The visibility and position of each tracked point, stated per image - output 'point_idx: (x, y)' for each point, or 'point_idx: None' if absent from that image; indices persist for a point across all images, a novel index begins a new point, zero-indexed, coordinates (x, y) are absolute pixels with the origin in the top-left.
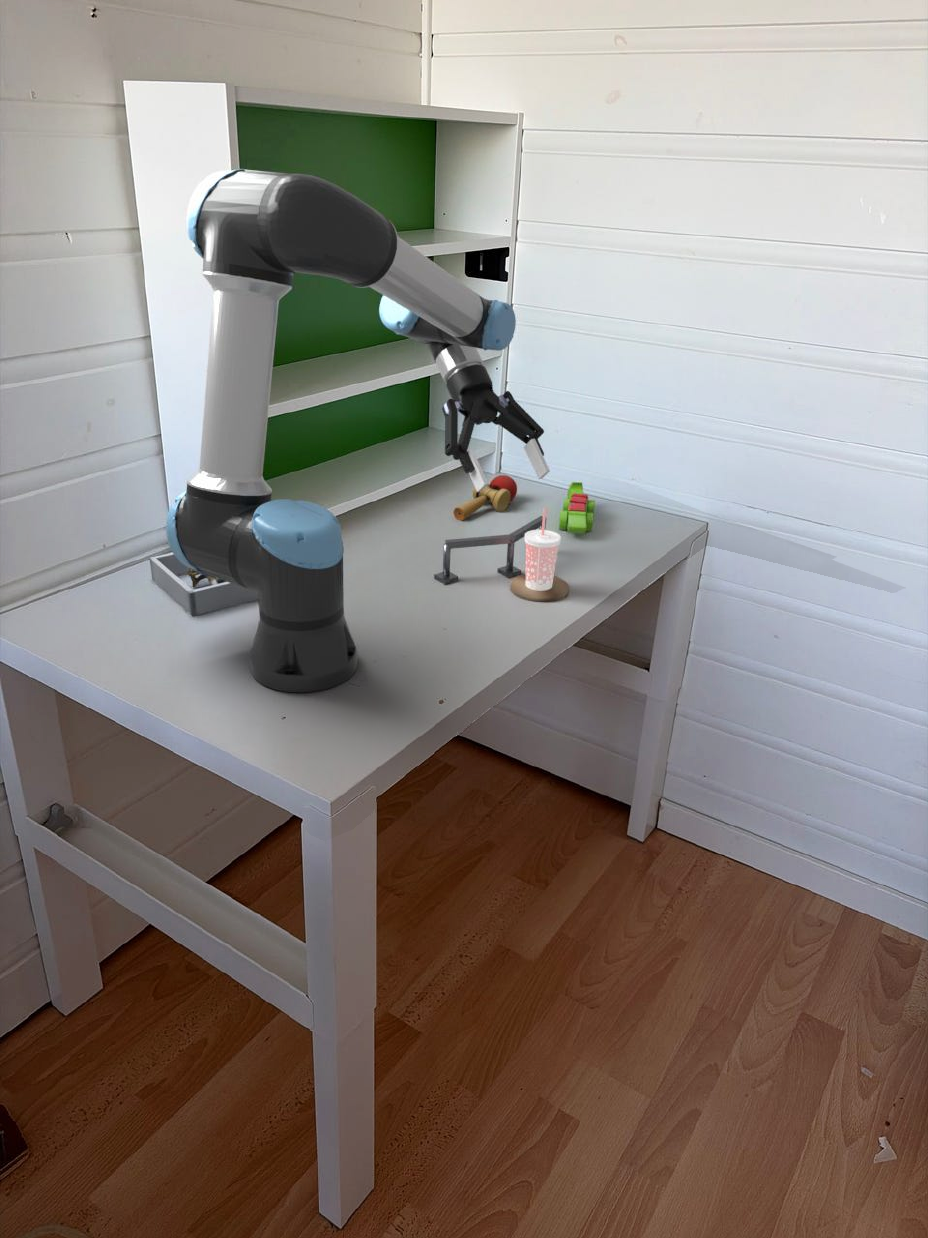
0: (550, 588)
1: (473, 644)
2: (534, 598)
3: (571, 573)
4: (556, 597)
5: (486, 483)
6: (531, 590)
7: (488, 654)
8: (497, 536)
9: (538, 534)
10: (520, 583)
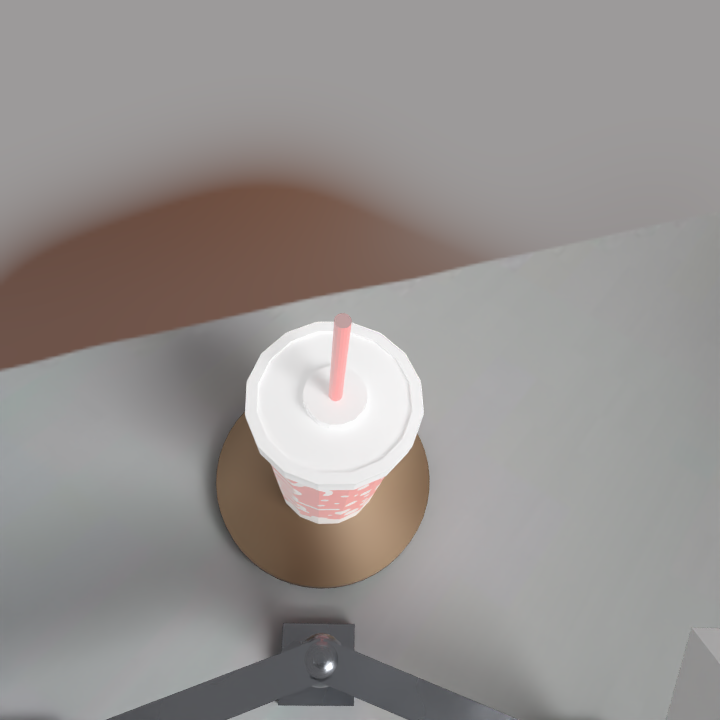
0: None
1: (704, 332)
2: None
3: (116, 513)
4: None
5: (714, 633)
6: None
7: (690, 279)
8: (396, 695)
9: (349, 410)
10: (374, 523)
